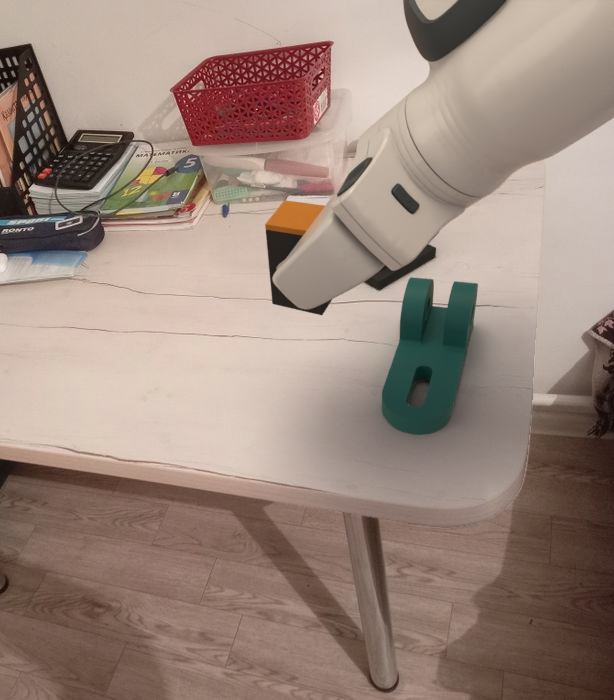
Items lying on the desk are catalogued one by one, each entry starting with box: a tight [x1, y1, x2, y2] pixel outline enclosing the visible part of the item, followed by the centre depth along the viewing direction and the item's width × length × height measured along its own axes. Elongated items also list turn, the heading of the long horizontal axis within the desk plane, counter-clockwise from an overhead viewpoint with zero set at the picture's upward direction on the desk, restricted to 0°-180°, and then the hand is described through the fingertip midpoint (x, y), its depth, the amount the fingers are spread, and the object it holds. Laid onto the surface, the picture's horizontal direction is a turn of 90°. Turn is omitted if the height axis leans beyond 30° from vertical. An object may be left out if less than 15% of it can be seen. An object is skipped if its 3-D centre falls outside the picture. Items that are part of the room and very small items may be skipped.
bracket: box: [381, 276, 479, 435], centre depth 66 cm, size 18×7×8 cm, turn 150°
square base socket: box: [364, 243, 437, 291], centre depth 85 cm, size 11×10×4 cm
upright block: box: [264, 199, 333, 316], centre depth 56 cm, size 5×4×9 cm
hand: (297, 254), depth 56 cm, fingers closed on upright block, 4 cm apart
